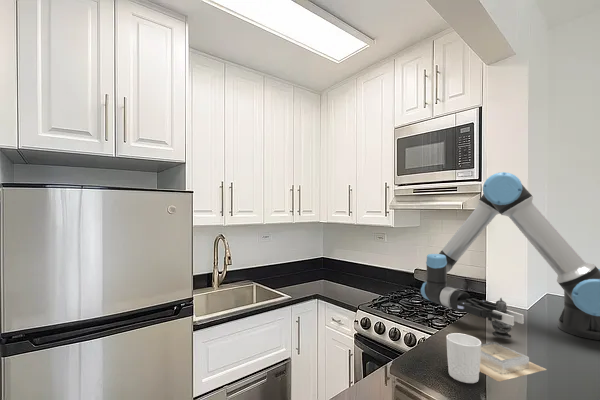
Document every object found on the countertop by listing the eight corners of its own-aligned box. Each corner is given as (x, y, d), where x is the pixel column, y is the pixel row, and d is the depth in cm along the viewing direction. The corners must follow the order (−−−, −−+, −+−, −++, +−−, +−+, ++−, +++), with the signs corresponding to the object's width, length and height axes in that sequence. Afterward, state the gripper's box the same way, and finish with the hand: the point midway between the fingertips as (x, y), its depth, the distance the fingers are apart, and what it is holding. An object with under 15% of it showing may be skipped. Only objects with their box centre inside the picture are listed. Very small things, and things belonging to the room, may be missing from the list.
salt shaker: (515, 339, 98) (515, 300, 99) (495, 337, 100) (494, 299, 100) (507, 332, 104) (507, 295, 104) (488, 330, 105) (487, 294, 106)
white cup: (450, 367, 85) (450, 330, 86) (483, 378, 80) (484, 338, 81) (442, 379, 79) (442, 339, 80) (477, 391, 74) (478, 349, 75)
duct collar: (494, 352, 93) (494, 341, 94) (528, 368, 84) (528, 357, 84) (469, 357, 90) (469, 346, 90) (502, 374, 81) (502, 362, 81)
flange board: (497, 349, 97) (497, 347, 97) (546, 372, 84) (546, 369, 84) (452, 358, 90) (452, 356, 90) (498, 384, 77) (498, 381, 77)
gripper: (472, 307, 122) (536, 329, 100) (438, 312, 116) (499, 336, 94) (472, 287, 122) (536, 305, 100) (438, 291, 116) (498, 310, 94)
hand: (517, 320), depth 97 cm, fingers closed on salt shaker, 4 cm apart
